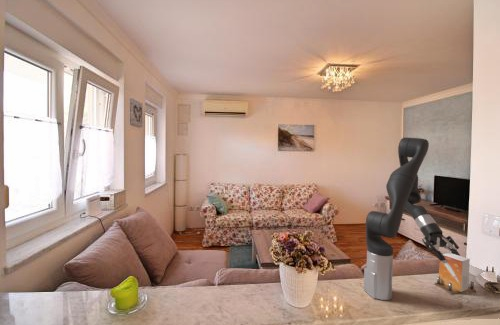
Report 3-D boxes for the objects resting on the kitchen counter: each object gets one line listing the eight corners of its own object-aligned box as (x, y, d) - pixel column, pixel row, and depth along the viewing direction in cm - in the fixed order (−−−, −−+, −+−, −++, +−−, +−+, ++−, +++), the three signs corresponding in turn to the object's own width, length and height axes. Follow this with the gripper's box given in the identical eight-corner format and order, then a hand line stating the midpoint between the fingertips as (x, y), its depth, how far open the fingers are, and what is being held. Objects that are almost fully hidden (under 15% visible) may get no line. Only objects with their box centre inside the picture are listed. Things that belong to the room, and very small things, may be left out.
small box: (438, 282, 101) (439, 253, 101) (445, 279, 104) (446, 251, 104) (461, 292, 94) (462, 261, 94) (468, 289, 97) (470, 258, 96)
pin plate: (451, 294, 94) (451, 284, 94) (434, 284, 101) (435, 276, 101) (475, 291, 96) (476, 283, 96) (457, 282, 103) (458, 274, 103)
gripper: (420, 222, 107) (443, 257, 96) (446, 222, 110) (471, 255, 98) (410, 230, 113) (431, 263, 101) (435, 229, 115) (458, 262, 104)
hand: (451, 259), depth 100 cm, fingers open, 8 cm apart
